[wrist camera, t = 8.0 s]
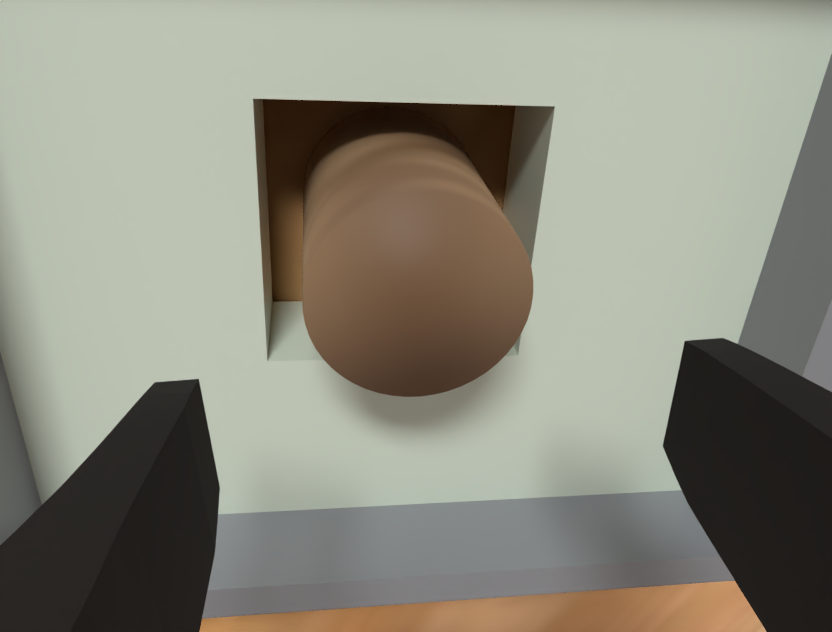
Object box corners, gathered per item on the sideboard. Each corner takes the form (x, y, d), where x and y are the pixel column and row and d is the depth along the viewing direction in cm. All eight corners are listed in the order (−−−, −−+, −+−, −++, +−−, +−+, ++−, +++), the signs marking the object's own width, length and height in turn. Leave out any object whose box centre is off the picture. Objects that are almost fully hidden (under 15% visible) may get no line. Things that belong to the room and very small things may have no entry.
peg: (474, 102, 18) (542, 184, 13) (469, 262, 20) (525, 387, 15) (296, 110, 17) (291, 198, 12) (311, 273, 20) (312, 405, 14)
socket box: (860, -194, 16) (1095, -232, 11) (670, 448, 25) (756, 578, 20) (-147, -285, 13) (-407, -390, 8) (49, 475, 22) (-23, 634, 17)
